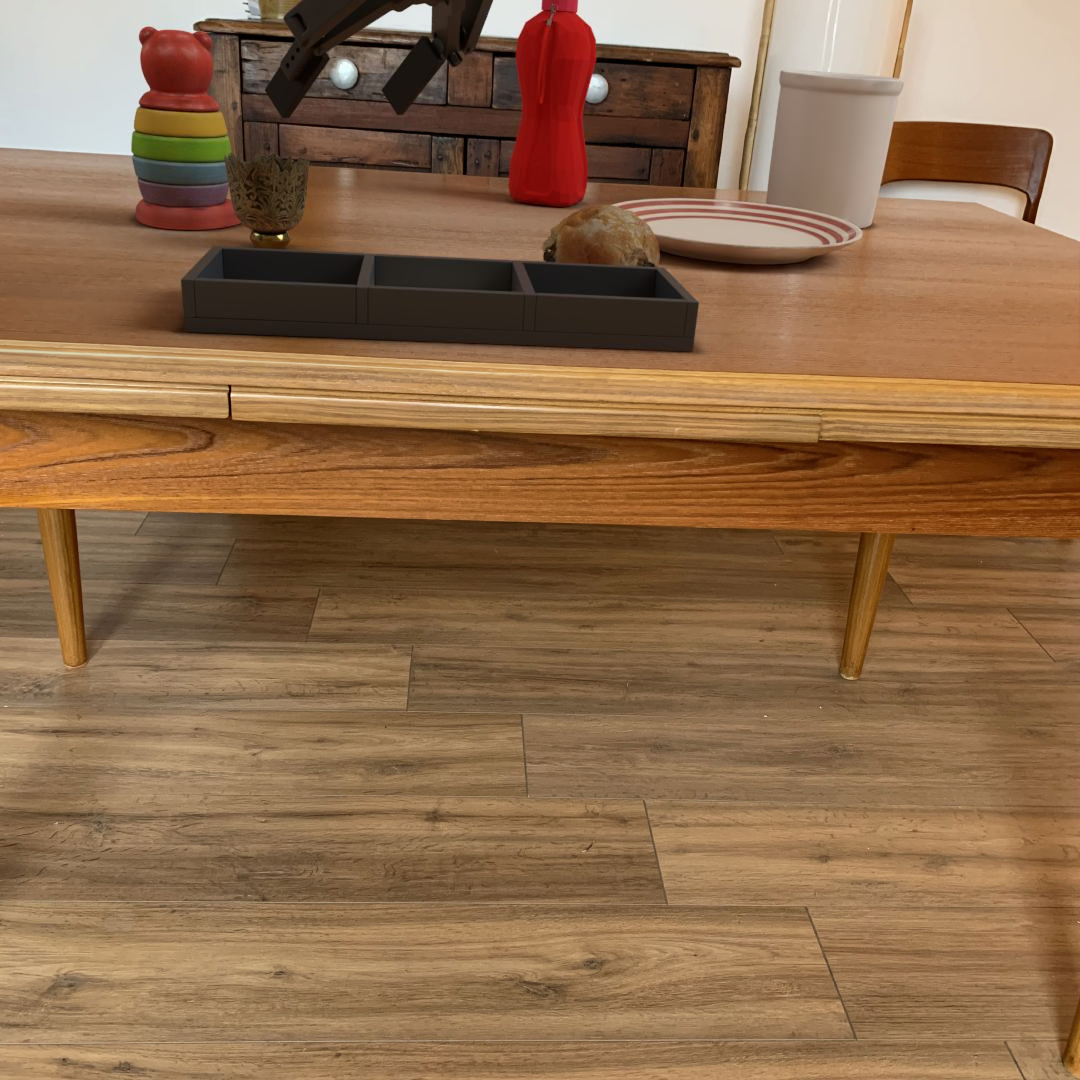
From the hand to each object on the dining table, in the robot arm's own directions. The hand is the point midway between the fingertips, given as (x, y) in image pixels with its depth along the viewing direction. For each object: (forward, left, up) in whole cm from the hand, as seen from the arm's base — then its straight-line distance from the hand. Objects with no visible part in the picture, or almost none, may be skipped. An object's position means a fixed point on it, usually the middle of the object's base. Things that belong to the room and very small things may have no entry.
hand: (337, 103), depth 91 cm
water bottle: (+32, +39, -13) cm, 52 cm away
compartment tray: (+5, -21, -13) cm, 25 cm away
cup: (-5, +7, -13) cm, 16 cm away
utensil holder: (+66, +29, -13) cm, 73 cm away
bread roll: (+23, -5, -13) cm, 27 cm away
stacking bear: (-12, +20, -13) cm, 27 cm away
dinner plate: (+43, +9, -13) cm, 46 cm away
